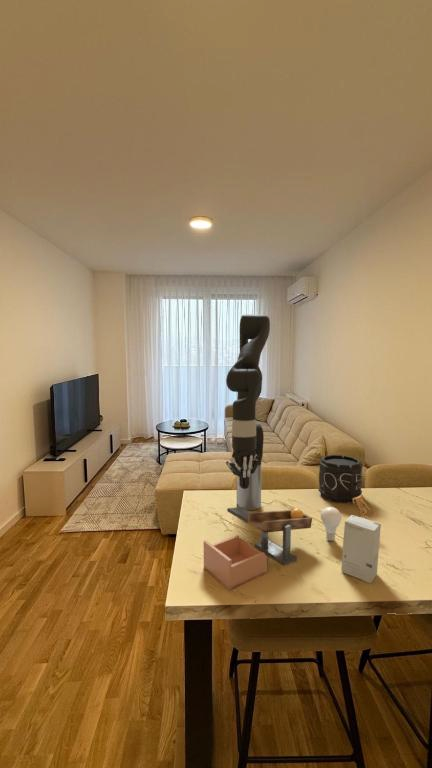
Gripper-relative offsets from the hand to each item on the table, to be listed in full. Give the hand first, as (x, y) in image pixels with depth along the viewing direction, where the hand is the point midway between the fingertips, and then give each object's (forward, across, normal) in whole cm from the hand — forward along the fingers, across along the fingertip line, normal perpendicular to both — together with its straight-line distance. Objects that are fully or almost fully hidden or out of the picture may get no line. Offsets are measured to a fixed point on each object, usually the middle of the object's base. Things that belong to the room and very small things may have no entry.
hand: (244, 488), depth 113 cm
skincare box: (+19, -17, +30) cm, 39 cm away
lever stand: (+19, -5, +9) cm, 21 cm away
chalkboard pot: (+19, -59, -7) cm, 62 cm away
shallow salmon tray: (+19, +11, +9) cm, 23 cm away
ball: (+9, -14, +9) cm, 19 cm away
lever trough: (+11, -7, +4) cm, 13 cm away
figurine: (+19, -41, +15) cm, 47 cm away
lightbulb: (+19, -25, +14) cm, 34 cm away
